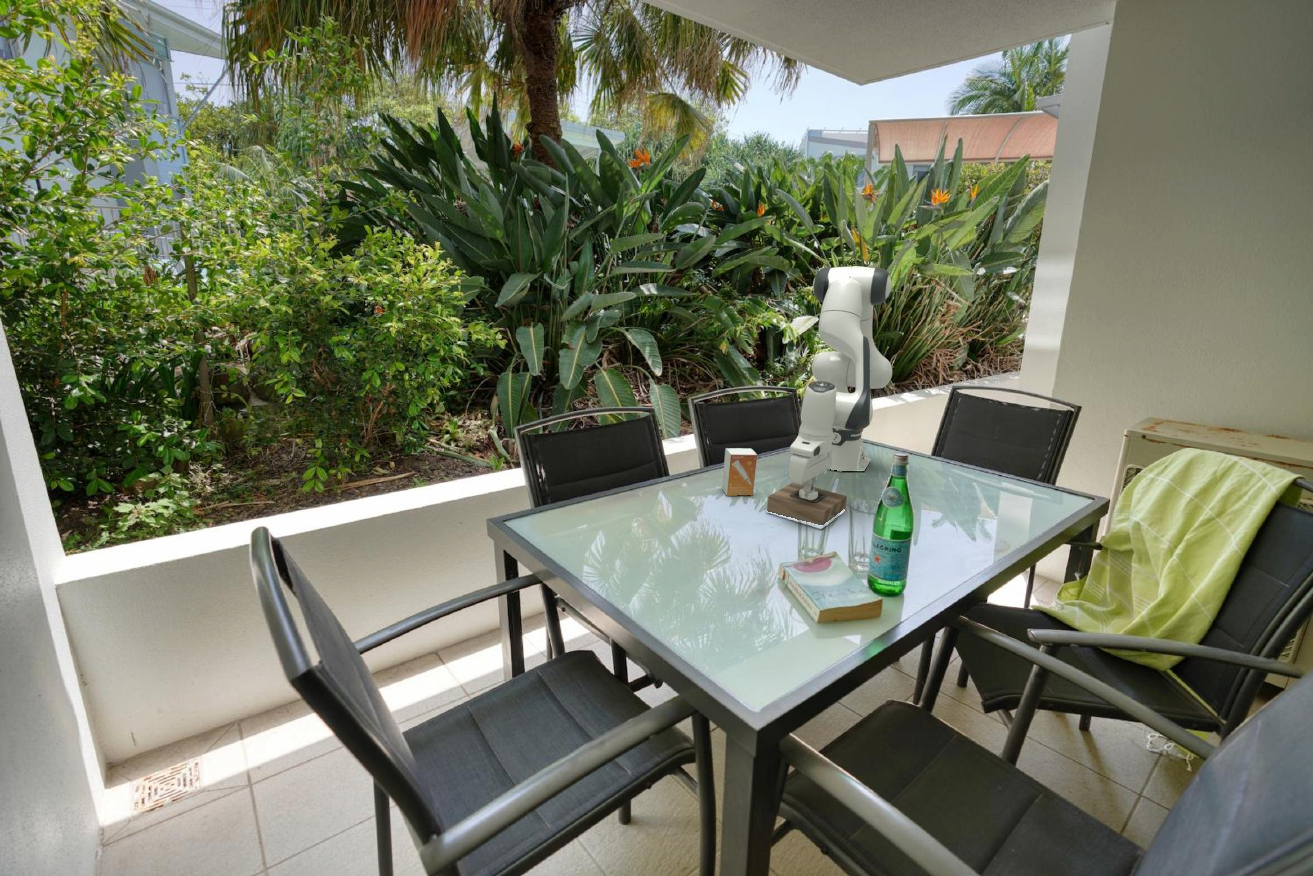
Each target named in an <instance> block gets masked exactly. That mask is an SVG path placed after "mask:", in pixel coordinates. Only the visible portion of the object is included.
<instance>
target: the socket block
mask: <svg viewBox="0 0 1313 876" xmlns="http://www.w3.org/2000/svg"><path fill="white" fill-rule="evenodd" d="M803 488H804V484H801V485H800V484H796V483H792V482H790V484H788V485H785V486H784V487H782V488H780V489H779V490H777V491H775V492H773V493H772V494H770V495H768V497H767V507H766V512H767V511H768V512H772V513H776V514H778V515H783V516H786V517H791V518H795V519H797V520H802V521H806V522H811V523H814V524H818V525H824V524H825V523H826V522H828V521H829V520H831V519H832V518H833V517H835V516H836V515H837V514H838V513H840V512H841V511H842V510H843V509H845V510H846V508H847V501H848V495H845V494H841V493H837V492H834V491H830V490H826V489H822V488H819V487H815V486H814V490H816V491H817V492H818V497H817V500H815V501H812V500H808V499H804V498H801V497H799V490H800V489H803Z"/></svg>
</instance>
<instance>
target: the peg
mask: <svg viewBox="0 0 1313 876" xmlns="http://www.w3.org/2000/svg"><path fill="white" fill-rule="evenodd" d="M799 497H801V498H804V499H808V500H812V501H815V500H817V497H818V492H817V491H816V490H813V491H811V492H809V493H806V492H804V488H803V489H800V490H799Z"/></svg>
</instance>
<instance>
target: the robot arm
mask: <svg viewBox="0 0 1313 876" xmlns="http://www.w3.org/2000/svg"><path fill="white" fill-rule="evenodd" d="M891 290H892V279H891V275H890V273H889V271H888V270H887V269H885V268H883V267H882V268H881V267H878V266H877V267H875V268H874V267H870V266H869V267H867V266H861V265H860V266H858V265H854V266H839V267H838V266H835V267H832V266H826V267H822V268H820V269H819V270H818V271H817V272H816V274H815V277H814V279H813V283H812V291H813V296H814V298H815V299H816V300H817V301H818V302H821V303H822V305H821V310H820V315H819V319H818V334H819V337H820V339H821V341H823V343H824V344H825V345H827V346H828V347H829V348H831V349H833V351H821V352H819V353H817V354H816V356H815V357H814V359H813V361H812V363H811V372H812V375H813V378H814V379H815V380H816V381H812V382H810V383H807V385H806V388H805V391H804V394H803V395H804V396H803V397H802V398H801V402H800V408H799V415H800V418H801V424H800V426H799V429H798V435H796V436H797V437H796V438H795V440H794V441H793V442H792V443H791V445H790V447H789V453H791V456H790V458H789V459H790V460H789V468H788V479H789V482H790V483H796V484H800V485H801V484H804V492H806V493H809V492H811V491H813V490H814V487H815V485H816V483H817V481H818V476H819V475H821V474H823V473H825V472H826V471H828V470H830V469H831V470H830V471H834V470H837V471H836V472H842V471H853V470H865V469H866V467H867V466H868V464H869V462H870V461H871V462H872V458H870V457H868V456H866V450H867V445H866V444H865V443H864V441H863V440H862V434H863V431H864V430H865V428H867V427H869V426H870V425H871V423H872V419H873V415H874V407H873V406H874V405H873V401H872V396H871V395H872V392H871V389H872V390H873V389H883V388H885V387H886V386H887V385H888V384H889V383H890V381H891V379H892V377H893V368H892V364H891V362H890V361H889V360H888V359H887V358H886V357H885V356H884V355H882V353H881V352H880V351H879V350H878V348H877V346H876V344H875V341H874V339H873V319H874V317H873V316H874V306H877V305H881V304H883V303H884V302H886V301H887V299H888V297H889V295H890V293H891ZM834 350H835V351H834ZM848 387H853V388H855V390H854V392H851V393H850V392H849V390H848ZM871 462H870V463H871ZM869 465H870V464H869ZM868 467H869V466H868ZM868 467H867V468H868ZM866 470H867V469H866Z"/></svg>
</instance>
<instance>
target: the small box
mask: <svg viewBox="0 0 1313 876" xmlns="http://www.w3.org/2000/svg"><path fill="white" fill-rule="evenodd" d="M757 460H758V454H757V452H755V451H754V450H753V449H752V448H742V447H741V448H740V447H739V448H738V447H736V448H734V447H733V448H730V447H729V448H727V447H726V448H725V450H724V461H723V462H724V463H723V474H722V485H721V489H722V491H723V493H724V494H725V496H726V497H738V496H737V495H753V496H754V488H755V480H756V479H755V478H756V469H757Z"/></svg>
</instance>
